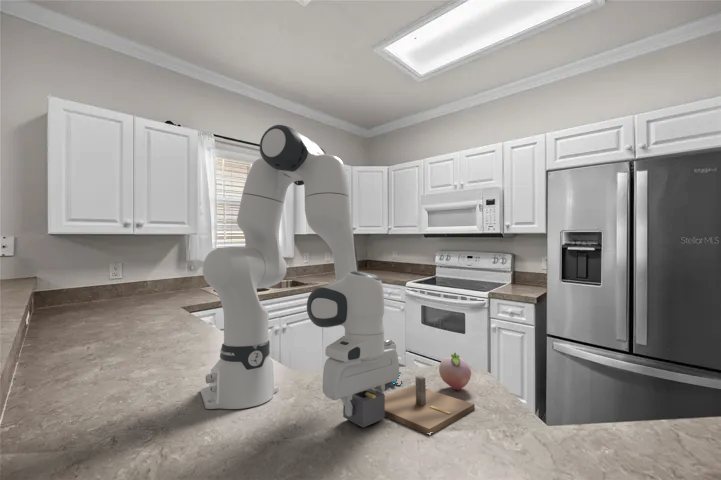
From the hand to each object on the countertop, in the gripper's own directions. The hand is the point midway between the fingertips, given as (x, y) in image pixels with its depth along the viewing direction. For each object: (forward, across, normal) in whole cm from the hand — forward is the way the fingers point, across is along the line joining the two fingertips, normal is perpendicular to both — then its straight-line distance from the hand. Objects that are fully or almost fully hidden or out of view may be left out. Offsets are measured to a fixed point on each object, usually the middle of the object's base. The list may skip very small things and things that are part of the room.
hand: (363, 409), depth 70 cm
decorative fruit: (+2, -31, +3) cm, 32 cm away
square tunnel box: (+2, 0, 0) cm, 2 cm away
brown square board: (+2, -14, +4) cm, 15 cm away
